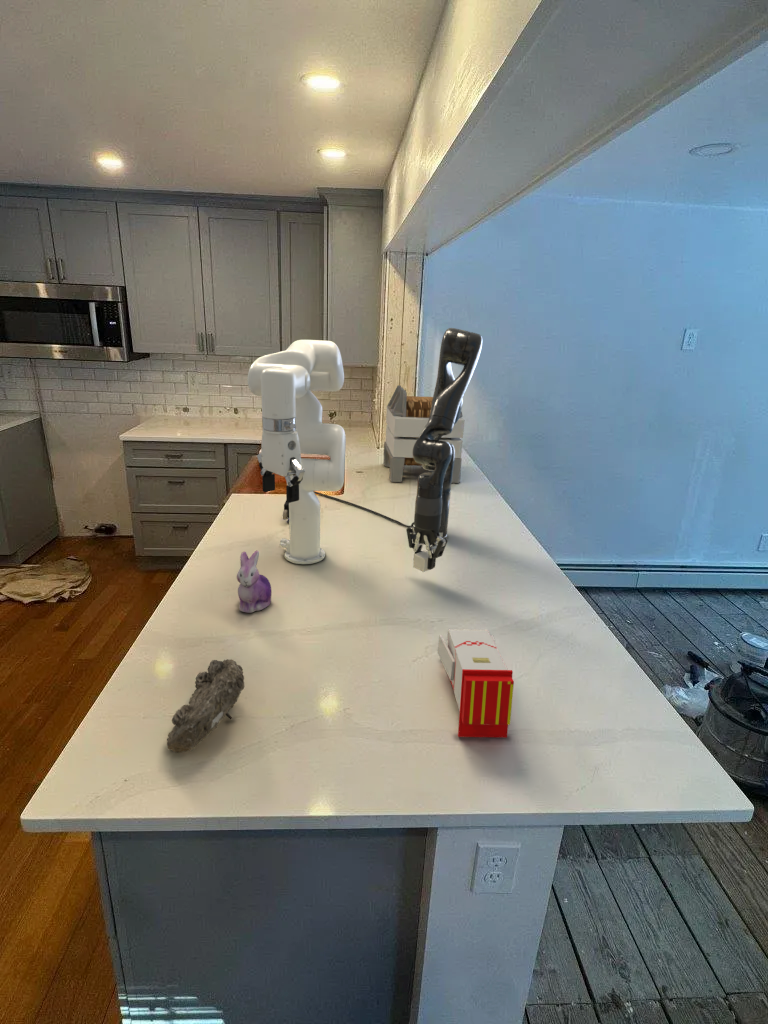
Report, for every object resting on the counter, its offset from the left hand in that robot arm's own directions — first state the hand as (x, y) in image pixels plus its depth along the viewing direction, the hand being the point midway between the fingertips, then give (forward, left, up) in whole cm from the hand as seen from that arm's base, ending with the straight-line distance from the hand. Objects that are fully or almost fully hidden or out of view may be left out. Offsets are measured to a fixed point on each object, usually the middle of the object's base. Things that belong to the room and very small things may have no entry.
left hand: (280, 496), depth 134 cm
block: (+27, +34, -27) cm, 51 cm away
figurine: (-9, 0, -32) cm, 33 cm away
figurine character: (-32, +61, -32) cm, 76 cm away
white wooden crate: (-11, +144, -32) cm, 148 cm away
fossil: (+8, -39, -32) cm, 51 cm away
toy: (+52, -10, -32) cm, 61 cm away
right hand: (+27, +34, -27) cm, 50 cm away
